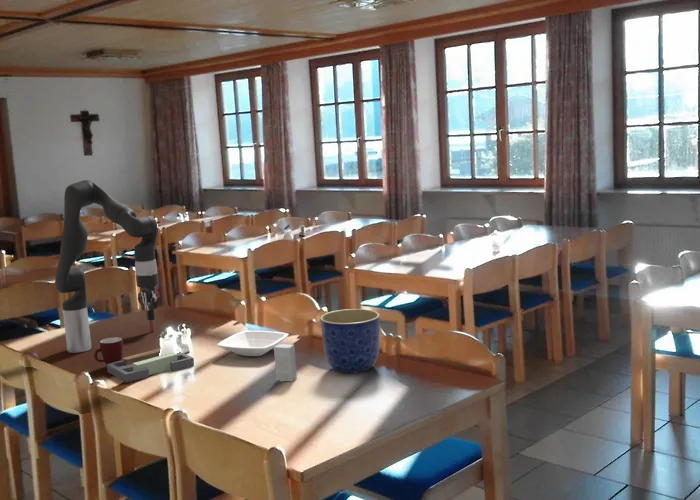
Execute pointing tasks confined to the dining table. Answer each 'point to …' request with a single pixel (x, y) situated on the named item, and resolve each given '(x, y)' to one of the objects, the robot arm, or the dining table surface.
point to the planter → (351, 339)
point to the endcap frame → (129, 375)
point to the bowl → (252, 342)
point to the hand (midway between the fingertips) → (150, 320)
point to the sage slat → (156, 363)
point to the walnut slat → (141, 357)
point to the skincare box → (285, 362)
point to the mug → (110, 350)
